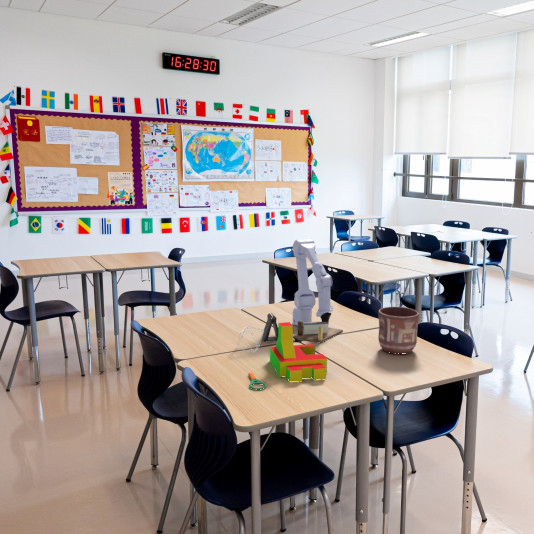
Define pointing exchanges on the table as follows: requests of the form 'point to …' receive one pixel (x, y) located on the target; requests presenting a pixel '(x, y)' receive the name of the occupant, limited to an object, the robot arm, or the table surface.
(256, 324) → the table surface
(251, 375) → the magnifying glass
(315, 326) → the panel
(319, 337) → the post
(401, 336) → the pottery
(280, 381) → the table surface
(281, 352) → the building blocks toy
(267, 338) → the phone stand
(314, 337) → the brown wooden board
